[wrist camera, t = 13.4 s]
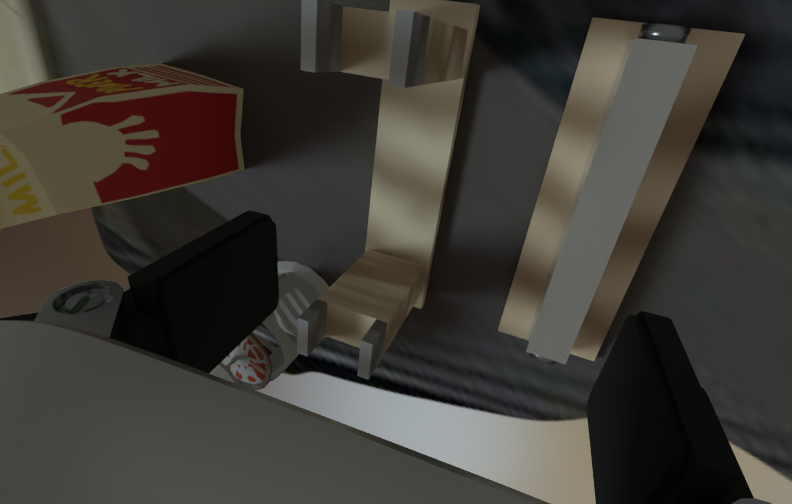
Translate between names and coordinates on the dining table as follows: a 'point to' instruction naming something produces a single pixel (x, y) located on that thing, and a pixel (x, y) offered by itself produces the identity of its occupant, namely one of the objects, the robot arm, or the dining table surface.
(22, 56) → the dining table surface
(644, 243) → the wooden board
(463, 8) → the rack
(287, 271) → the french press
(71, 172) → the milk carton
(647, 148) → the rail
